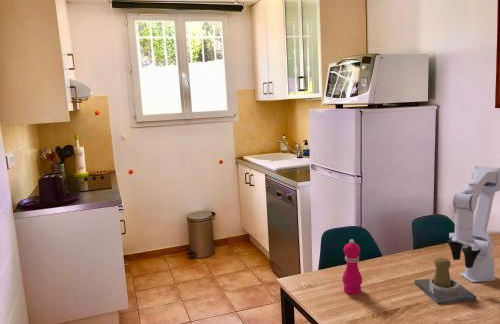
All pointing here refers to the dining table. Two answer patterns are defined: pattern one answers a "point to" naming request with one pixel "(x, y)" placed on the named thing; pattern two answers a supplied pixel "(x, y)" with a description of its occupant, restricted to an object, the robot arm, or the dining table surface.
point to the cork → (442, 272)
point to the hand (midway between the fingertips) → (462, 263)
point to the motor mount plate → (445, 297)
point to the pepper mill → (352, 269)
